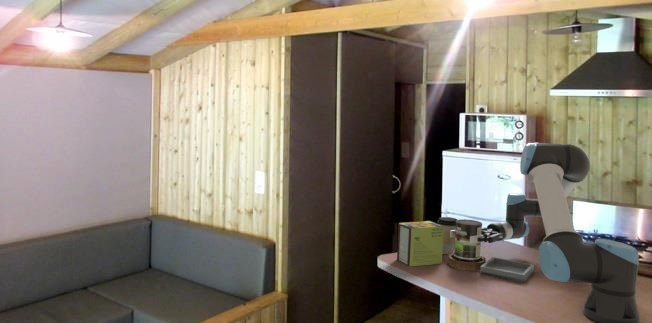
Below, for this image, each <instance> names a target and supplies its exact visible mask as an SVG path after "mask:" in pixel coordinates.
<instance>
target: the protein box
mask: <svg viewBox="0 0 652 323" xmlns="http://www.w3.org/2000/svg"><path fill="white" fill-rule="evenodd" d="M397 228H398V229H397V250H396V251H397V252H396V260H397V261H399V262H400V263H402V264H404V265H405V266H408V267H419V266H420V267H421V266H429V265H439V264H440V265H442V263H443V254H442V249H443V231H444V226H441V225H439V224H438V223H437V222H434V221H431V220H426V221H409V222H399V223H398V227H397Z"/></svg>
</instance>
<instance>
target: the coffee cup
mask: <svg viewBox="0 0 652 323" xmlns="http://www.w3.org/2000/svg"><path fill="white" fill-rule="evenodd" d="M456 220H458V219H457V218H455V217H449V216H442V217H439V218H438V220H437V221H436V224H439V225H441V226H444V231H443V249H442V255H446V254H448V255H450V254H452V253H454V247H455V237H450V230H456Z"/></svg>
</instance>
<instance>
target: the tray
mask: <svg viewBox="0 0 652 323" xmlns="http://www.w3.org/2000/svg"><path fill="white" fill-rule="evenodd" d="M534 271H535V264H532V263H526V262H522V261H517V260H510V259H504V258H499V257H493V256H492V257H490V258H489V259H488V260H487V261H486V263H484V264H483V265H482V266H480V270H479V274H480V275H482V276H487V275H488V277H492V276H493V278H497V277H498V278H497V279H502V280H507V281H511V280H512V282H516V283H517V282H518V283H522V284H525V282H527V280H528V279H529V278H530V277H531V276H532V275H533V274H534Z"/></svg>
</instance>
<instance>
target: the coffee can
mask: <svg viewBox="0 0 652 323" xmlns="http://www.w3.org/2000/svg"><path fill="white" fill-rule="evenodd" d="M482 228H483V222H481V221H479V220H474V219H457V220H456V230H455V247H454V256H455V257H457V258H460V259H465V260H477V259H479V258H480V256H481V246H482V245H481V244H482V242H479V243H472V244H471V243H470V236H476V235H481V231H482Z"/></svg>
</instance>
